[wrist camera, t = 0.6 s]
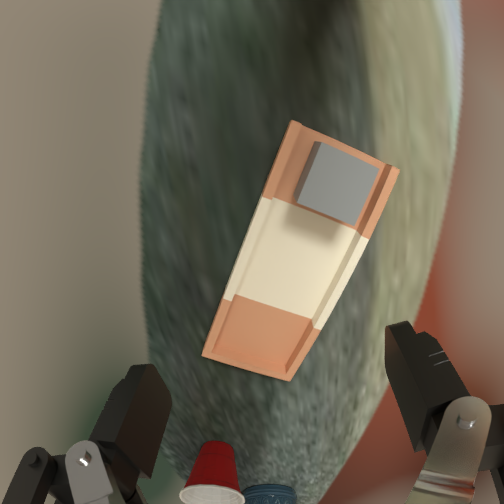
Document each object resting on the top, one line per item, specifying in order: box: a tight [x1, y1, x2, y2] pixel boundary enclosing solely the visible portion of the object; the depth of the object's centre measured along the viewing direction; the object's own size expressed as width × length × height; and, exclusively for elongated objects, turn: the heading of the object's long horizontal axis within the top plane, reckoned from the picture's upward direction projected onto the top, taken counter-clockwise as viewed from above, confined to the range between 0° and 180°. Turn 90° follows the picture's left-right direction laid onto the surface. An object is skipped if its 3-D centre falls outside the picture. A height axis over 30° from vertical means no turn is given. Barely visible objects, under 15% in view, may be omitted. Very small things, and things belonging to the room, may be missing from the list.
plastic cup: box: [179, 441, 245, 504], centre depth 44 cm, size 11×11×12 cm
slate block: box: [293, 141, 379, 226], centre depth 29 cm, size 6×6×4 cm
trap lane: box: [202, 120, 400, 381], centre depth 34 cm, size 29×12×2 cm, turn 160°
